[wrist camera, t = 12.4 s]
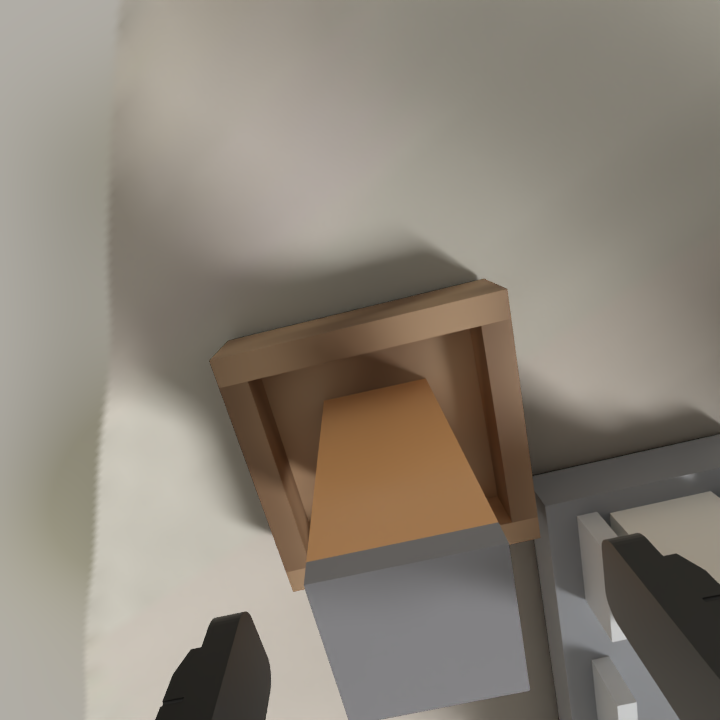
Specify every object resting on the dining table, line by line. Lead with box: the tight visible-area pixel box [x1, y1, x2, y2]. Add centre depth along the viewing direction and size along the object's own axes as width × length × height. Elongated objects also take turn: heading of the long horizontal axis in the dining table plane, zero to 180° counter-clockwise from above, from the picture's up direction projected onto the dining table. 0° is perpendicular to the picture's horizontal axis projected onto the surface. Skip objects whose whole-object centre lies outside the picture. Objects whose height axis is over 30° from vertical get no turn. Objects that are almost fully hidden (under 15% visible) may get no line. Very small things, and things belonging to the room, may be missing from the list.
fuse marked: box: [304, 378, 530, 720], centre depth 13 cm, size 4×4×9 cm
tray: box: [209, 279, 541, 592], centre depth 17 cm, size 10×10×2 cm
